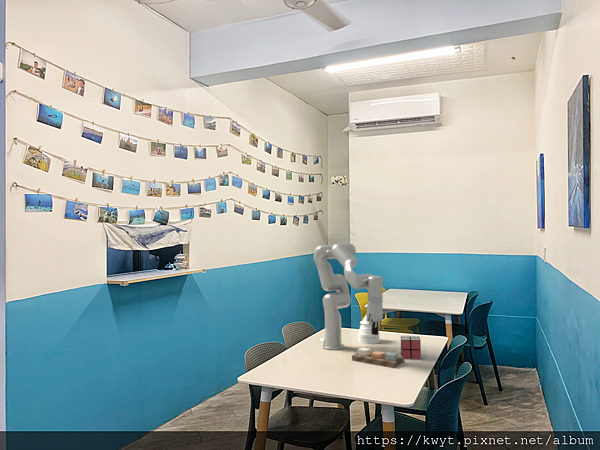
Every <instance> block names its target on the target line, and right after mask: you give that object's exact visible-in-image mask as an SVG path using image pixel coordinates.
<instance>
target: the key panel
mask: <svg viewBox="0 0 600 450" xmlns="http://www.w3.org/2000/svg"><path fill="white" fill-rule="evenodd" d="M373 352H374V351H371V353H373ZM385 354H386V353H384V356H385ZM351 361H354V362H360V363H364V364H369V365H375V366H381V367H386V368H391V369H395V368H397V367H399V366H400V365H402V364H404V363H405V359H404V357H401V356H399V359H398V360H396V361H390V360H385V357H383V358H381V359H379V358H373V357H371V355H368V356H362V355H358V352H357V353H354V354H353V355H351Z"/></svg>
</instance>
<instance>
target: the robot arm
mask: <svg viewBox="0 0 600 450" xmlns="http://www.w3.org/2000/svg"><path fill="white" fill-rule="evenodd" d="M356 252H357V249H356V247H355V245H353V243H350V242H341V243H336V244H323V245H319V246H317V247H316V248H315V249H314V251H313V261H314V263H315V267H316V269H317V271H318V277H319V280H320V284H321V288H322V290H323V291H325V292H330V293H326V294H325V295H324V296H323V298H322V306H323V312H324V338H323V337H321V338H320V340H319V342H320V343H323V345H322V349H325V350H329V351H331V350H332V351H333V350H334V351H336V350H343V349H344V348H345V344H344V343H342V316H341V313H340V311H339V309H344V308H348V307H350V305H351V301H352V300H351V298H352V297H351V295H350V288H349V286H351V288H353V289H356V290H359V289H360V290H361V289H367V306H366V314H365V316H366V320H367V321H369V325H371V327H372V334H373V335H378V332H379V326H380V323H381V322H382V320H383V317H384V316H383V315H384V313H383V312H384V311H383V310H384V308H383V307H384V306H383V301H384V300H383V295H384V294H383V293H384V292H383V290H384V285H383V284H384V283H383V280H384V279H383V276H381V275H374V274H371V273H361V274H357V273H355V271H354V270H353V269H354V268H355V267H356V266H357V263H358V259H357V258H356V257H355V255H356V254H357V253H356ZM335 259H336V260H337V261H338V262H339V264H340V265H341V266H342V267H343V274H339V273H337V274H336V273H334V271H333V267H332V265H331V264H330V262H329V261H328V260H335ZM333 291H334V292H333ZM335 291H336V292H335Z"/></svg>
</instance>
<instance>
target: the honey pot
mask: <svg viewBox="0 0 600 450" xmlns="http://www.w3.org/2000/svg"><path fill="white" fill-rule="evenodd" d="M359 323H360V324H359V325H360V326H359V329H358V333H357V335H358V336H357V339H358V343H360V344H365V345H373V344H378V343H380V332H379V331H378V335H373V334H372V327H371V325H369V321H367V320H366V315H365V316H364V317H363V319H362V320H361V321H360V322H359Z"/></svg>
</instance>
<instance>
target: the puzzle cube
mask: <svg viewBox="0 0 600 450" xmlns="http://www.w3.org/2000/svg"><path fill="white" fill-rule="evenodd" d="M421 346H422V345H421V337H420V336H419V335H401V336H400V355H401V356H400V357H404V360H421V359H422V353H421V351H422V350H421V348H422V347H421Z"/></svg>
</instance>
